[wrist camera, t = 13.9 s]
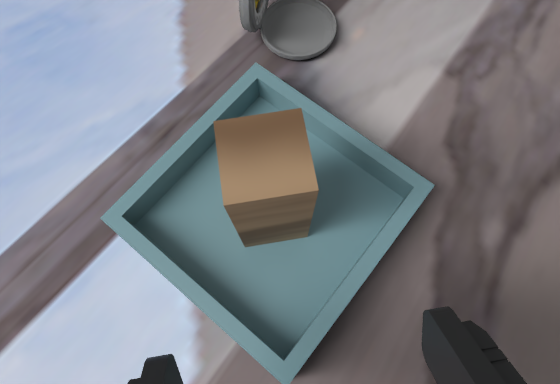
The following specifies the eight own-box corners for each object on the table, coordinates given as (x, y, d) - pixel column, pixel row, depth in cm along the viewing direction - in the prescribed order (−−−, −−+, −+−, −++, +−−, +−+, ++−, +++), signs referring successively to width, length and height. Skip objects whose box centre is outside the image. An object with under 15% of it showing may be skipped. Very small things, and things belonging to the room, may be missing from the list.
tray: (258, 85, 32) (255, 62, 30) (420, 199, 29) (434, 185, 26) (118, 228, 28) (100, 218, 26) (286, 380, 25) (286, 387, 22)
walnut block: (307, 237, 27) (318, 190, 18) (244, 247, 27) (223, 205, 18) (296, 179, 29) (301, 107, 19) (236, 188, 29) (213, 121, 19)
